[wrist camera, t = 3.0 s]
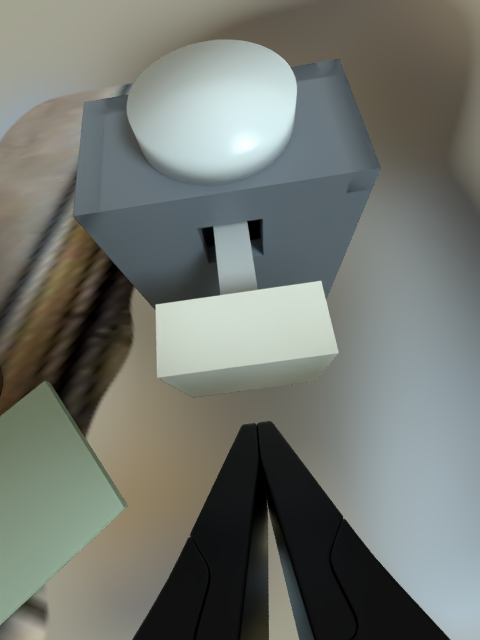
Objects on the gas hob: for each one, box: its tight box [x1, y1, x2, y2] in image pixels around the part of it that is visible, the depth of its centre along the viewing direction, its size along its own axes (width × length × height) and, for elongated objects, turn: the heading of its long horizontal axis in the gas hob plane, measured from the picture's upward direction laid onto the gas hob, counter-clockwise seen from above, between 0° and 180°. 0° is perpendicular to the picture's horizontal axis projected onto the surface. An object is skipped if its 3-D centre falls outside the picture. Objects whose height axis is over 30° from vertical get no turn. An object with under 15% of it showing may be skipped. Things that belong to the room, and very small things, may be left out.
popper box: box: [73, 40, 381, 310], centre depth 14 cm, size 5×9×10 cm, turn 97°
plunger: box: [156, 221, 339, 397], centre depth 11 cm, size 6×4×4 cm
